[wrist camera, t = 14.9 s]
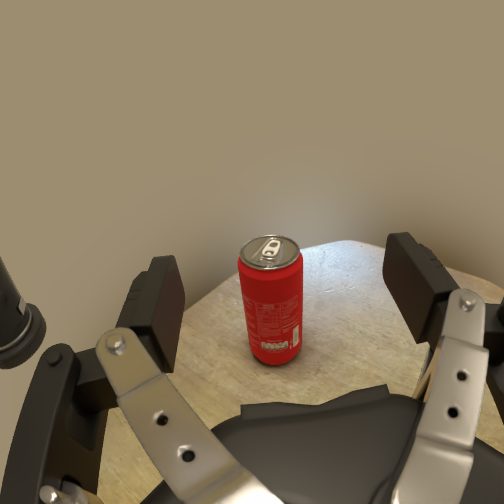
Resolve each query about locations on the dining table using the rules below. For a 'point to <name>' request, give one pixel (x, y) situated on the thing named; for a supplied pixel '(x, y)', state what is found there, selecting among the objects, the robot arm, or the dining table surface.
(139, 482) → the dining table surface
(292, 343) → the beverage can
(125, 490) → the dining table surface
